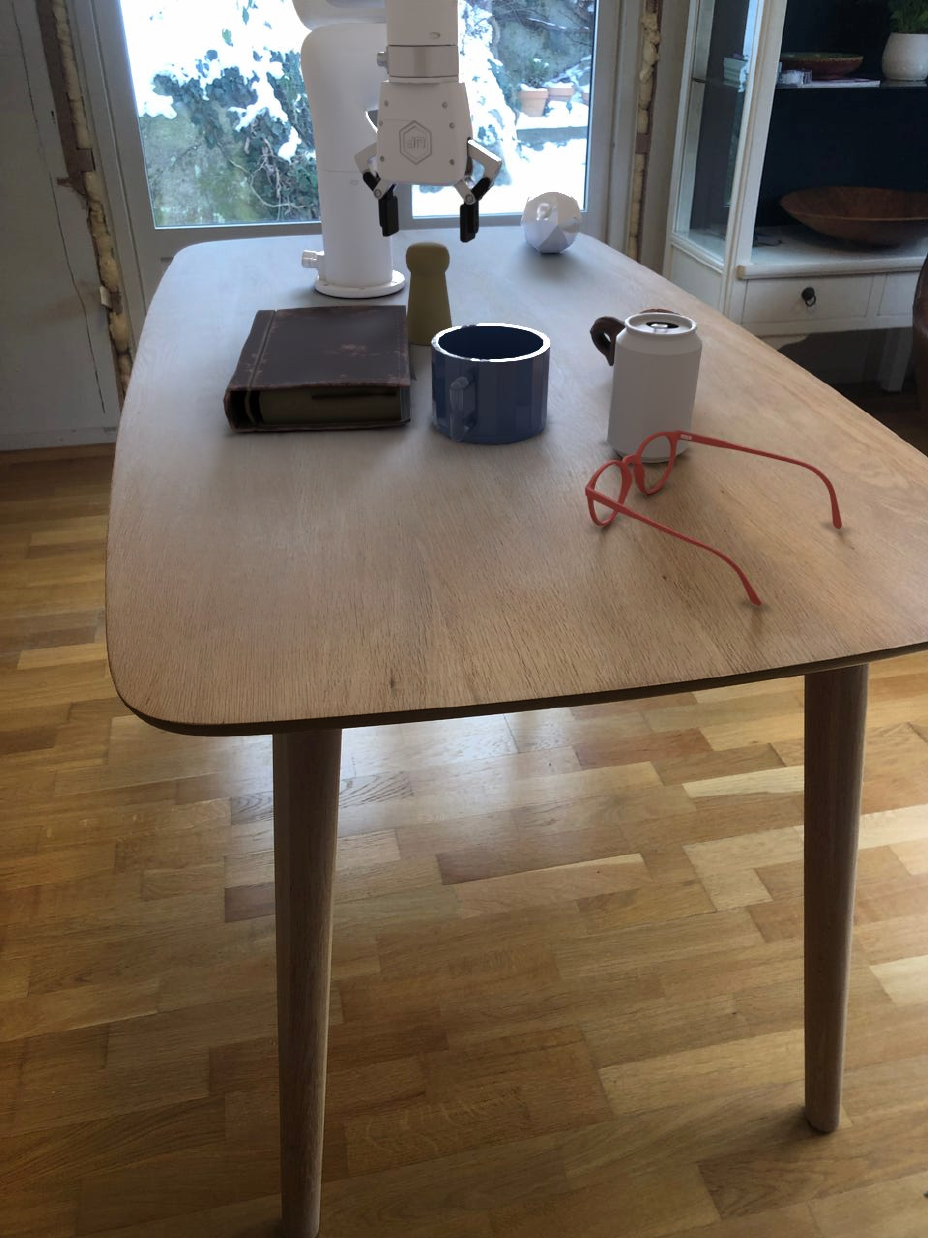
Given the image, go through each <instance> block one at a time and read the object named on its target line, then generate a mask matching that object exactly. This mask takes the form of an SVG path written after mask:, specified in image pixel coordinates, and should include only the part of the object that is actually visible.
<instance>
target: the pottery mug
mask: <svg viewBox="0 0 928 1238" xmlns="http://www.w3.org/2000/svg"><path fill="white" fill-rule="evenodd" d="M643 313H669V314H676V315H680V316H682V315H681V314H680V313H678V312H674V311H671V310H669V309H664V308H649V309H645V310H642V311H640V312H639V313H638V314H643ZM625 328H626V326H625V321H622V320H620V319H619V318H617V317H615V316H608V315H605V316H601V317H598V318H597V319H595V320H594V322H593V324H592V326H591V328H590V329H589V334H590V338H591V341H592V343H593V345H594V346H595V348H596V349H597V351H599V352H600V353H601V354H602V355H603V356H604V357H605V359H606V360H607V364H608V366H609V367H614V357H615V346H616V337H617V335H618V334H619V333H620V332H621V331H623V330H624V329H625Z"/></svg>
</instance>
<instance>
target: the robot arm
mask: <svg viewBox="0 0 928 1238" xmlns="http://www.w3.org/2000/svg"><path fill="white" fill-rule="evenodd" d="M291 2H292V6H293V7H294V10H295V14H296V16H297V18H298V19H299V20H300V22H301V24H303V26H304V27H305V28H306V29H307V30H310V32H309V33H308V34H307V35H306V36H305V38H304V40H303V41H302V44H301V47H300V54H299V55H300V56H299V58H300V59H299V61H300V71H301V76H302V81H303V84H304V85H303V86H304V89H305V90H304V91H305V94H306V98H307V103H308V107H309V113H310V119H311V127H312V133H313V142H314V154H315V164H316V165H315V166H316V174H317V175H316V176H317V189H318V201H319V202H318V203H319V211H320V213H319V215H320V225H321V226H320V227H321V238H322V251H320V252H318V251H313V250H303V252H302V253H301V267H302V268H304V269H316V271H317V276H316V277H315V279H314V287H315V290H317V291H318V292H319V293H321V294H324V295H327V296H331V297H337V298H348V299H365V298H366V299H367V298H377V297H382V296H387V295H391V294H394V293H396V292H399V291H400V290H402V289H403V288H404V286H405V277H404V275H403V274H402V273H400V272H399V271H396V270H394V262H393V261H394V260H393V237H392V236H393V235H396V234H397V233H398V232H399V231H400V222H399V221H400V220H399V198H398V197H397V195H395V194H394V191H395V190H396V188H397V187H398V186H399V185H409V186H411V185H412V186H426V187H428V186H429V187H451V186H453V187H454V189H455V190H456V192H457V193H458V194H459V195H460V197H461V199H462V200H463V203H461V204H460V205H459V241H460V242H461V243H464V244H467V243H469V242H471V241H472V240H475V239H476V236H477V234H478V233H479V231H480V201H482V199H484V196H485V195H486V194H487V193H488V192H489V191H490V190H491V188H493V187H494V185H495V181H496V179H497V177H498V175H499V173H500V171H501V169H502V167H503V161H502V159H501V158H500V157H499V156H496V155H495V154H494V153H492V152H490V151H489V150H488V149H486V148H484V147H483V146H481V145H480V144H478V143H477V142H475V141H474V132H473V120H472V112H471V111H472V110H471V104H470V98H469V92H468V87H467V83H466V80H465V79H461V75H460V74H461V70H460V69H461V62H460V61H461V57H460V56H461V54H460V51H461V50H460V0H291ZM371 111H377V117H376V119H377V120H376V126H375V125H374V123H373V122H372V120H371V119H370V117H369V115H368V112H371ZM475 162H477V163H478V164H480V165H481V166H483V168H484V171H483V173H482V176H481V178H480V179H479V180H478V182H476V181H475V179H474V178H473V174H474V170H475Z"/></svg>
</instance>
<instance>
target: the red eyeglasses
mask: <svg viewBox="0 0 928 1238" xmlns="http://www.w3.org/2000/svg"><path fill="white" fill-rule="evenodd" d="M660 436H666V437H667V438H668V440H669V442H670V448H671V452H670V459H669V461H668V464H667V467H666V470H665V472H664V474H663V476H662V478H661V479H660V481H659V482H658V483H657V485H655V486H654V487H653V488H651V489H646V487H645V475H646V473H645V472H646V470H645V468H644V466H643V462H641V455H642V452H643V450H644V448H645V447H646V445H647V444H648V443H649V442H650V441H652V440H653V439H655V438H657V437H660ZM678 440H686V441H689V442H691V443H696V444H701V445H706V446H710V447H715V448H720V449H727V450H734V451H739V452H742V453H743V452H744V453H748V454H751V455H756V456H761V457H765V458H769V459H773V460H777V461H781V462H785V463H789V464H793V465H796V466H799V467H803V468H805V469H808V470H809V471H811V472H813V473H814V474H815V475H816V476H817V477H819V478H820V480H821V481H822V483H824V485H825V487H826V489H827V491H828V494H829V499H830V506H831V516H832V517H831V518H832V526H833V527H835V529H836V530H840V529H842V527H843V523H842V518H841V511H840V508H839V507H840V506H839V503H838V498H837V493H836V490H835V488H834V486H833V483H832V482H831V481H830V479H829V478H828V477H827V476H826V475H825V473H823V472H822V471H821V470H820V469H818V468H817V467H815V466H813V465H811V464H810V463H808V462H805V461H802V460H799V459H795V458H791V457H788V456H785V455H781V454H777V453H773V452H770V451H765V450H761V449H756V448H753V447H748V446H744V445H741V444H738V443H737V444H736V443H733V442H730V441H726V440H723V439H720V438H716V437H710V436H706V435H702V434H697V433H692V432H690V433H689V432H684V431H679V430H677V431H672V432H659V433H656V434H653V435H651V436H650V437H648V438H647V439H645V440H644V441H643V443H642V444H641V445H640V447H639V448H638V450H637V452H636V454H632V455H627V456H625V457H622V460H621V461H620V460H614V459H613V460H609V461H607V462H604V464H602V465H601V466H600V467H598V469H597V470H596V471H595V472H594V474H592V476H591V478H590V479H589V481H588V482H587V484H586V485H585V486H584V493H585V494H584V495H585V496H586V500H587V506H588V507H587V508H588V512H589V516H590V519H591V521H592V522H593V523H594V524H595V525H596V526H599V527H606V526H608V525H609V524H610V523H611V522H613V521H614V519H615V518H617V515H618V514H619V513H620V514H621V515H623V516H626V517H630V518H632V519H634V520H637V521H639V522H641V523H643V524H646V525H647V526H650V527H652V528H654V529H656V530H659V531H661V532H663V533H664V534H667V535H670V536H672V537H675V538H676V539H679V540H681V541H684V542H686V543H688V544H691V545H694V546H697V547H699V548H701V549H704V550H706V551H708V552H710V553H712V554H714V555H716V556H718V557H719V558H720V559H722V560H723V561H724V562H726V563H727V564H728V565H729V566H730V567H731V568H732V569H733V570H734V572H735V573H736V574H737V576H738V577H739V580H740V581H741V583H742V585H743V588H744V590H745V592H746V594H747V596H748V598H749V600H750V602H751V603H752V604H753V605H755V606H758V607H761V606H762V604H763V602H762V601H761V598H760V597H759V596H758V594H757V593H756V591H755V589H754V587H753V586H752V584H751V583H750V581H749V579H748V578H747V576H746V574H745V573H744V571H743V570H742V569H741V568H740V567H739V566H738V564H737V563H736V562H734V561H733V560H732V559H731V558H729V557H728V556H727V555H725V554H724V553H722V552H721V551H719V550H717V549H716V548H714V547H712V546H710V545H708V544H706V543H704V542H701V541H699V540H697V539H695V538H692V537H690V536H689V535H685V534H684V533H681V532H679V531H676V530H674V529H672V528H670V527H668V526H667V525H664V524H663V523H662V524H661V523H660V522H657V521H656V520H653V519H651V518H649V517H647V516H644V515H643V514H640V513H638V512H636V511H635V510H633V509H631V508H630V507H628V506H626V505H624V503H625V502H626V499H627V497H628V494H629V492H630V489H631V487H632V484H633V480H634V481H635V484H636V486H637V488H638V490H639V491H640V492H641V493H643V494H648V495H652V494H654V493H656V492H657V491H659V490H660V489H661V488H662V487H663V486H664V484H666V481H667V480H668V478H669V477H670V474H671V472H672V470H673V468H674V464H675V459H676V457H675V454H676V447H677V441H678ZM630 464H633V467H632V470H633V472H632V470H631V469H630V468H629V465H630ZM614 465H615V466H617V468H618V469H619V472H620V477H621V487H620V491H619V496H618V500H617V501H616V500H615V499H613V498H611V497H609V496H608V495H605V494H604V493H601V492H599V491H597V490H595V489H596V484H597V482H598V479H599V477H600V476H601V475H602V473H603V472H604V471H605V470H606V469H608V468H609V467H611V466H614ZM594 501H596V502H597V503H599V504H602V505H603V506H605V507H607V508H609V509H611V510H613V511H612V512H611V514H610V515H609V517H607V518H606V519H605V520H604V521H600V520H599V518H598V517H597V514H596V509H595V503H594Z"/></svg>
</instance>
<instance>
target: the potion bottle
mask: <svg viewBox="0 0 928 1238" xmlns="http://www.w3.org/2000/svg"><path fill="white" fill-rule="evenodd" d="M582 221H583V220H582V212H581V208H580V206H579V203H578V200H576V199H575V198H574V197H573V196H572V195H570V194H569V193H568V192H567V191H565V190H564V189H563V188H542V189H541V190H539V191H538V192H536V193H535V194H534V195H532V197H531V196H530V197H527V201H526V203H525V207H524V209H523V212H522V215H521V218H520V223H519V226H520V227H521V230H522V233H523V236H524V239H525V242H526V243H527V244H528V245H529V246H531V247H532V248H534V249H535V250H536V251H538V252H539V253H540V254H559V253H562V252H563V251H565V250H567V249H568V248H570V247H571V246H572V245H573V243H574V242H575V241H576V240H577V237H578V235H579V233H580V231H581V225H582Z"/></svg>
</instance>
